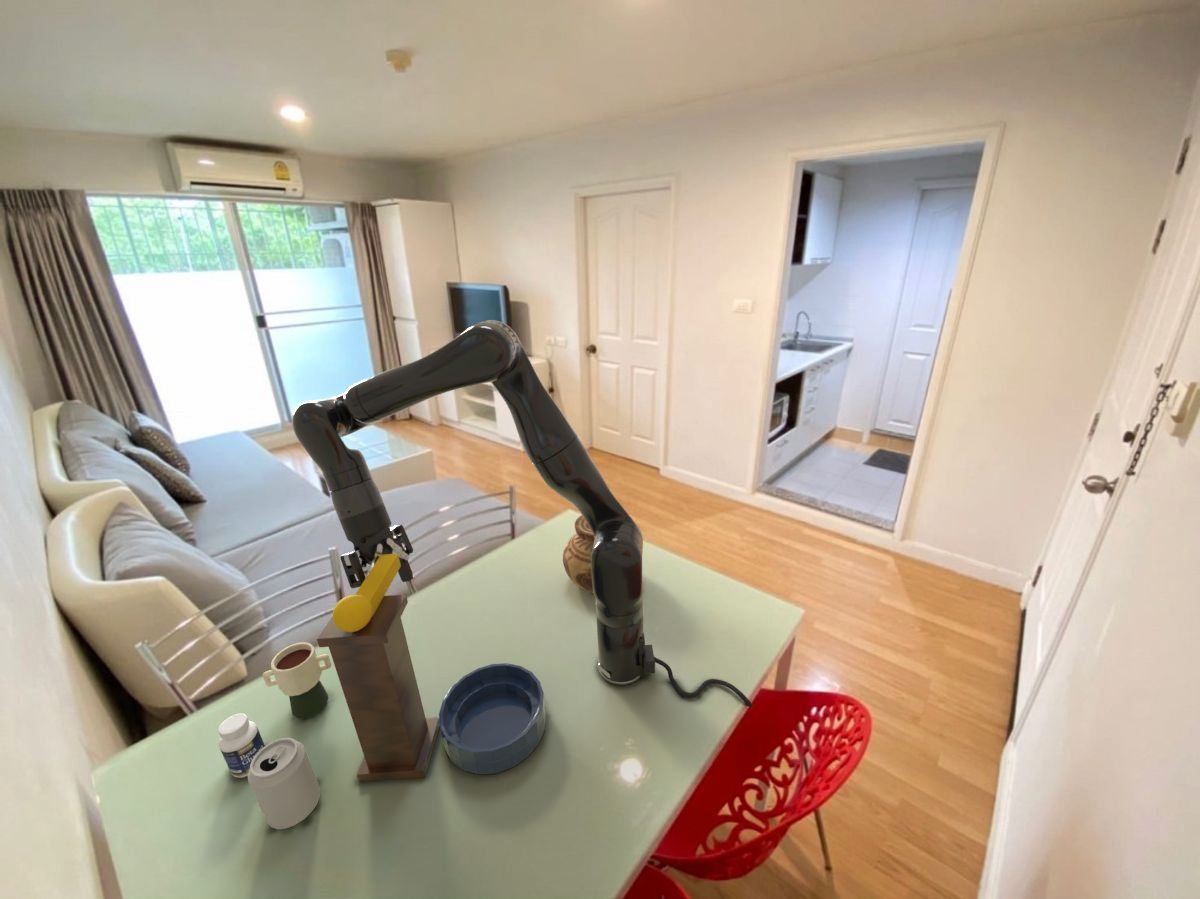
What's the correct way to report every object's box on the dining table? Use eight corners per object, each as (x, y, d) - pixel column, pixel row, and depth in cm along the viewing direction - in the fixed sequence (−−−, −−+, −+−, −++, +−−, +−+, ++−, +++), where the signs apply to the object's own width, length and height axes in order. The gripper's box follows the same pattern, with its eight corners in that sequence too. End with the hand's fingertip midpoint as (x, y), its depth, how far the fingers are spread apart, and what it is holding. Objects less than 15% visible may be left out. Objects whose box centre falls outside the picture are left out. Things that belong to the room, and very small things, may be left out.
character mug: (343, 683, 101) (327, 634, 96) (341, 711, 95) (323, 659, 90) (282, 703, 97) (262, 652, 92) (276, 732, 91) (254, 680, 86)
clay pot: (649, 593, 118) (615, 528, 111) (579, 618, 121) (542, 557, 114) (643, 547, 136) (614, 489, 129) (583, 570, 139) (550, 515, 132)
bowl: (548, 683, 99) (546, 660, 96) (542, 772, 82) (539, 747, 80) (457, 689, 98) (453, 666, 96) (432, 780, 81) (426, 755, 79)
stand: (440, 723, 91) (410, 592, 80) (425, 777, 82) (388, 637, 71) (381, 727, 91) (342, 596, 80) (358, 781, 82) (310, 641, 70)
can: (257, 821, 76) (232, 770, 72) (300, 776, 83) (279, 726, 78) (290, 841, 74) (267, 788, 69) (332, 793, 80) (313, 741, 76)
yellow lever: (407, 565, 87) (401, 540, 85) (367, 638, 70) (359, 609, 68) (377, 567, 87) (371, 542, 85) (331, 641, 70) (321, 612, 68)
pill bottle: (250, 781, 82) (231, 740, 79) (223, 776, 84) (204, 735, 80) (276, 751, 87) (259, 711, 84) (250, 746, 88) (233, 707, 85)
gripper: (348, 518, 79) (385, 609, 81) (403, 491, 92) (433, 570, 95) (313, 528, 81) (349, 616, 83) (371, 500, 94) (401, 577, 97)
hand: (393, 591), depth 89 cm, fingers open, 8 cm apart
